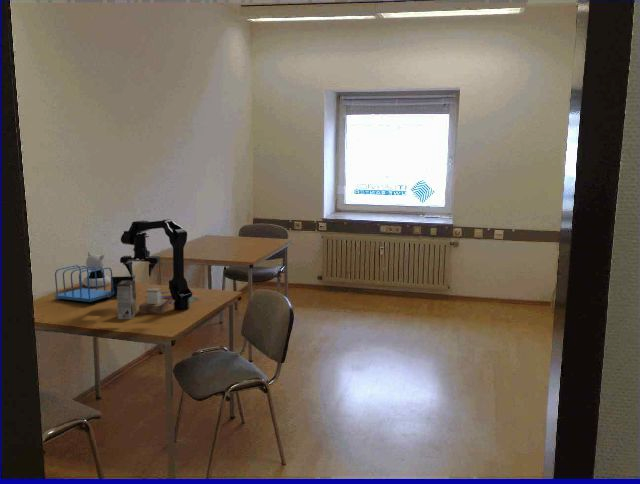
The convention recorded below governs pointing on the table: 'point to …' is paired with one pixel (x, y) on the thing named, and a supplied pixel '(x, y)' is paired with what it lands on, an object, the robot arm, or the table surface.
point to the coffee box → (126, 299)
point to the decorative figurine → (96, 262)
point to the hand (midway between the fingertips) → (140, 276)
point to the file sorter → (83, 293)
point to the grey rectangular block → (116, 281)
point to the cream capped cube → (153, 295)
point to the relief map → (168, 296)
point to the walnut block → (153, 307)
